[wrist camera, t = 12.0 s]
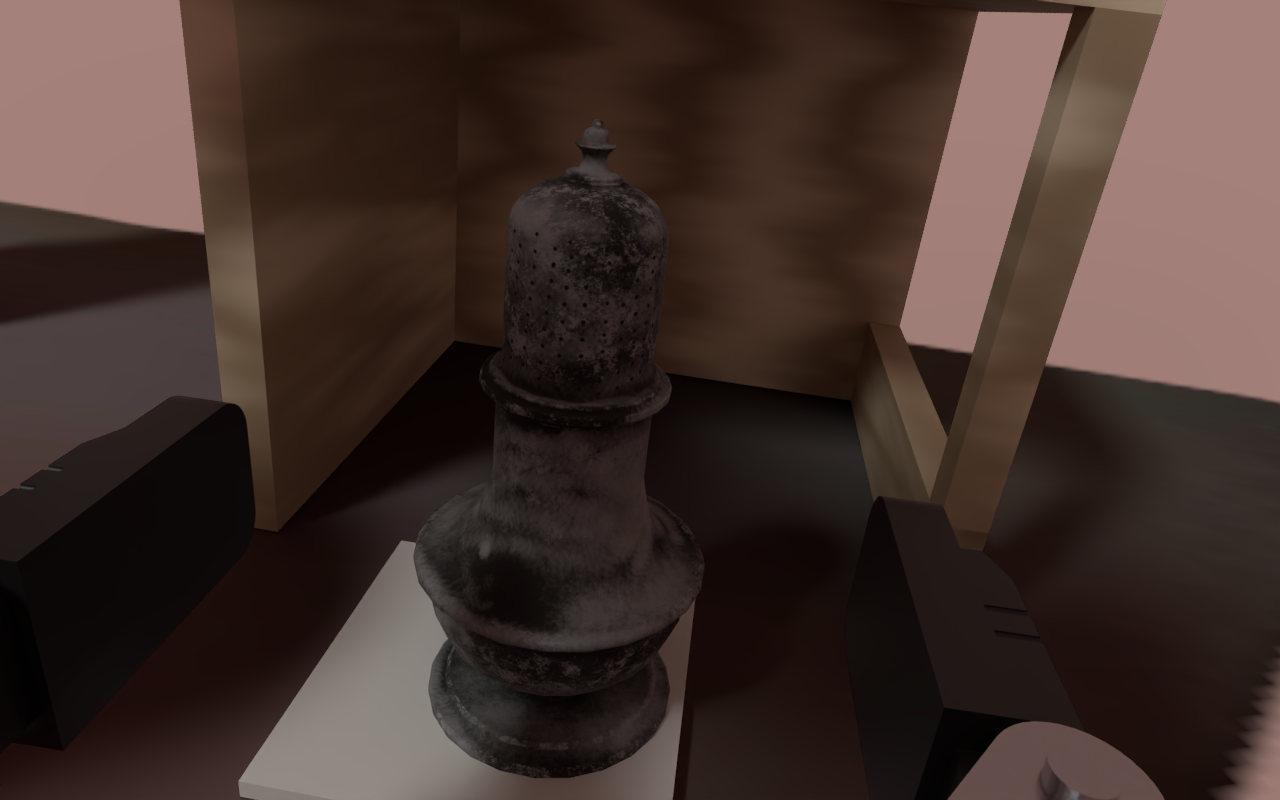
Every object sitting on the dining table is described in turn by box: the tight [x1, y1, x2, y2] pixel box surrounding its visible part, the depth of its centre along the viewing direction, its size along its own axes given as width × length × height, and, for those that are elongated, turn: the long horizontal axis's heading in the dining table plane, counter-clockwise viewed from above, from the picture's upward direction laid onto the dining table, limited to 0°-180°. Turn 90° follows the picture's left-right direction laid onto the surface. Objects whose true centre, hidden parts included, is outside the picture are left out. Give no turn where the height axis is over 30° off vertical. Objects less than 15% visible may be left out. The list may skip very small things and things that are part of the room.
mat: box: [238, 541, 695, 800], centre depth 19 cm, size 8×8×1 cm
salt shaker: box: [413, 119, 705, 778], centre depth 17 cm, size 6×6×12 cm
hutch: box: [180, 0, 1167, 551], centre depth 27 cm, size 19×16×16 cm
